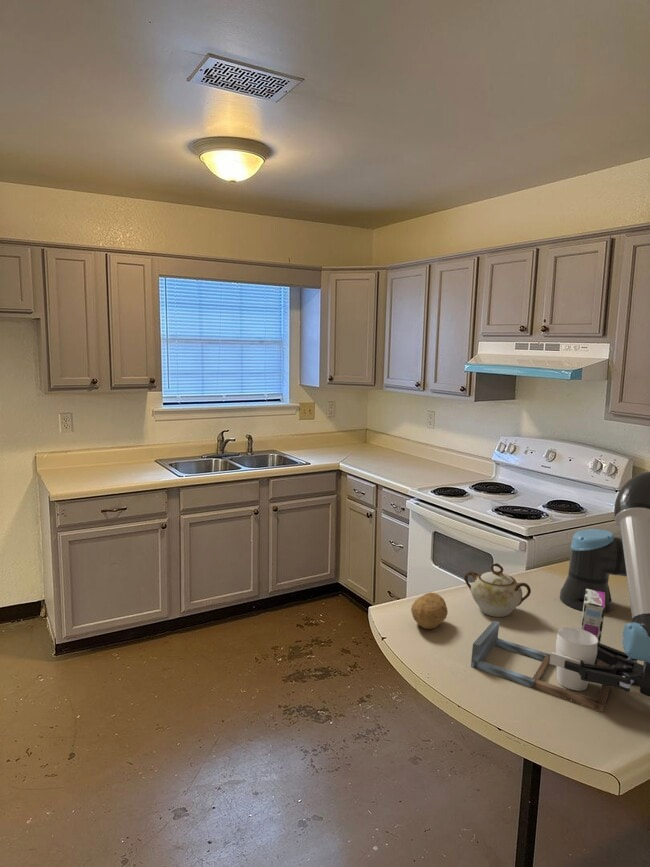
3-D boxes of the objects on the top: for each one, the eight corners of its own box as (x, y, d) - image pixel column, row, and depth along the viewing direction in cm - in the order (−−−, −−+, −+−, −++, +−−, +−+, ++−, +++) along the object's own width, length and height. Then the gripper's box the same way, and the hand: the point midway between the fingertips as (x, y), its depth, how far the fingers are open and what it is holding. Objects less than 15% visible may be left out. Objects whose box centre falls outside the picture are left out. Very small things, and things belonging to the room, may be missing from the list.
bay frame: (613, 680, 143) (616, 656, 142) (602, 711, 130) (605, 686, 129) (491, 641, 159) (493, 620, 158) (470, 666, 146) (472, 643, 145)
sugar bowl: (454, 611, 177) (458, 563, 175) (469, 594, 190) (473, 549, 188) (521, 629, 167) (527, 579, 165) (533, 611, 180) (538, 564, 178)
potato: (403, 631, 163) (405, 603, 162) (418, 612, 175) (420, 586, 174) (438, 640, 159) (440, 612, 157) (450, 620, 171) (453, 593, 170)
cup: (596, 697, 136) (603, 647, 134) (555, 690, 137) (561, 642, 136) (587, 676, 144) (593, 630, 143) (548, 670, 146) (554, 624, 144)
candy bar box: (597, 669, 148) (605, 607, 145) (576, 663, 150) (583, 602, 148) (598, 649, 158) (605, 591, 156) (578, 645, 160) (585, 587, 158)
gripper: (655, 722, 122) (542, 683, 134) (663, 676, 140) (563, 646, 152) (660, 688, 121) (545, 652, 133) (667, 646, 139) (566, 618, 151)
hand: (555, 649), depth 142 cm, fingers closed on cup, 9 cm apart
